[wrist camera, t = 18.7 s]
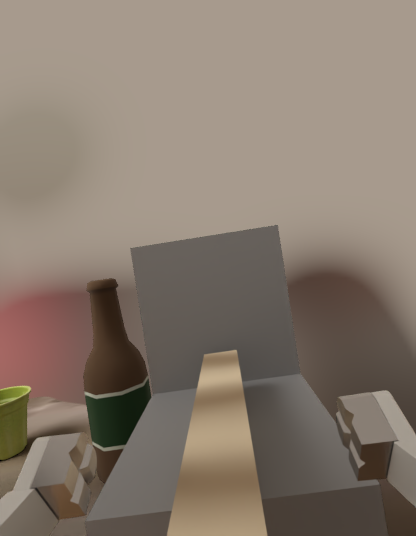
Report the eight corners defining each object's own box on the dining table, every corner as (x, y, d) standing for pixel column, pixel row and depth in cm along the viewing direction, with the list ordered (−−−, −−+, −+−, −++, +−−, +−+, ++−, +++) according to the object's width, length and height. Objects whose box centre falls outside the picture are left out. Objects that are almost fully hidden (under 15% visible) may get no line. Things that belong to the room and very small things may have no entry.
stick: (294, 708, 7) (272, 569, 7) (178, 720, 7) (156, 582, 7) (242, 388, 26) (236, 349, 26) (210, 393, 26) (204, 354, 26)
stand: (433, 832, 14) (334, 184, 14) (137, 857, 14) (40, 231, 14) (303, 483, 36) (265, 234, 36) (188, 498, 36) (150, 251, 36)
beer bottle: (172, 454, 45) (144, 273, 45) (138, 494, 38) (105, 278, 38) (124, 450, 48) (98, 280, 48) (84, 486, 41) (53, 287, 41)
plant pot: (51, 441, 55) (43, 387, 55) (-11, 476, 47) (-21, 413, 47) (18, 434, 60) (10, 384, 60) (-44, 464, 52) (-53, 407, 52)
